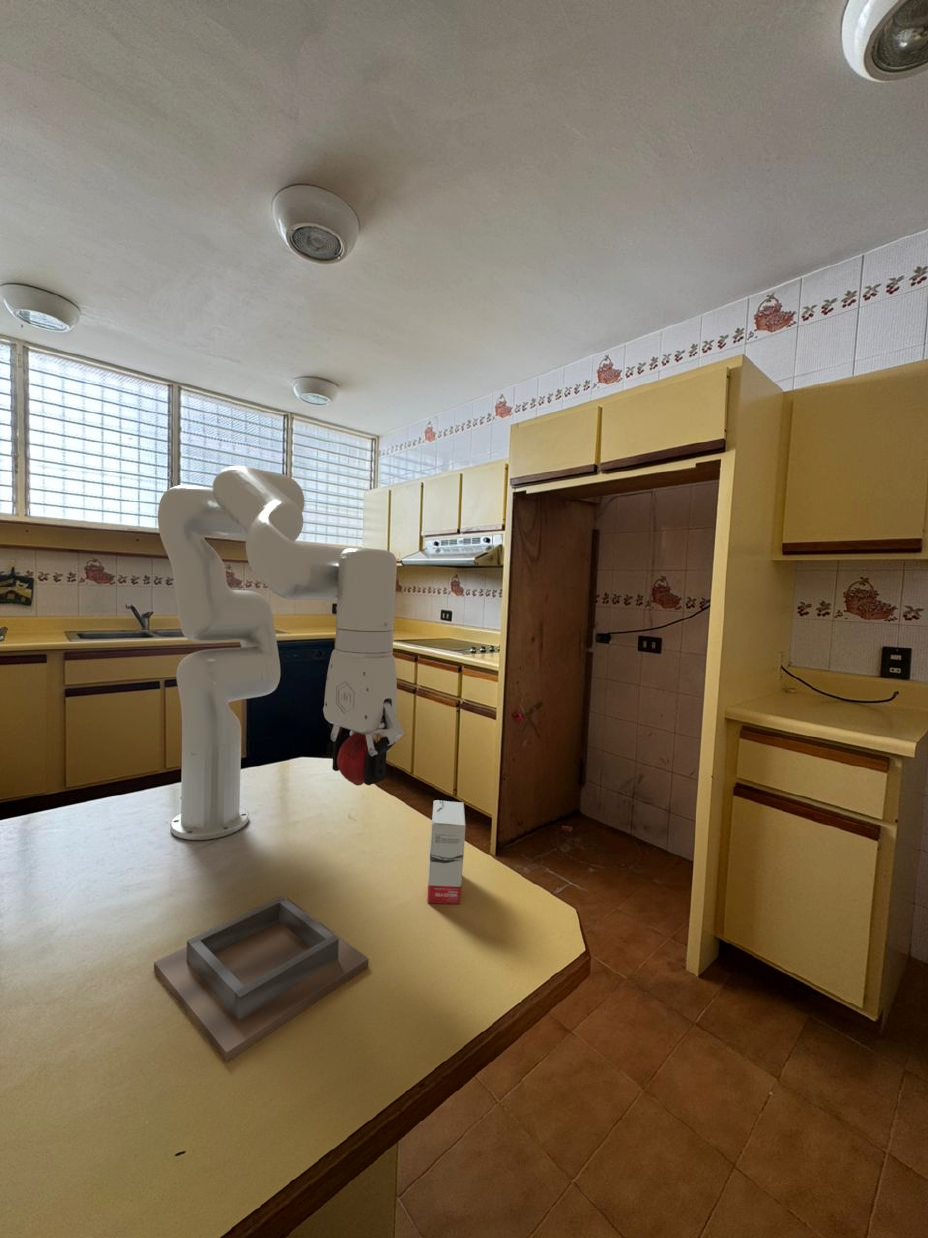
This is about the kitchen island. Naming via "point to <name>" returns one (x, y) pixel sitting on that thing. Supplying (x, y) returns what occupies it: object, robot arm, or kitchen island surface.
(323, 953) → the dock
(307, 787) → the kitchen island surface
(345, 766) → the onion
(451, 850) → the ink box
